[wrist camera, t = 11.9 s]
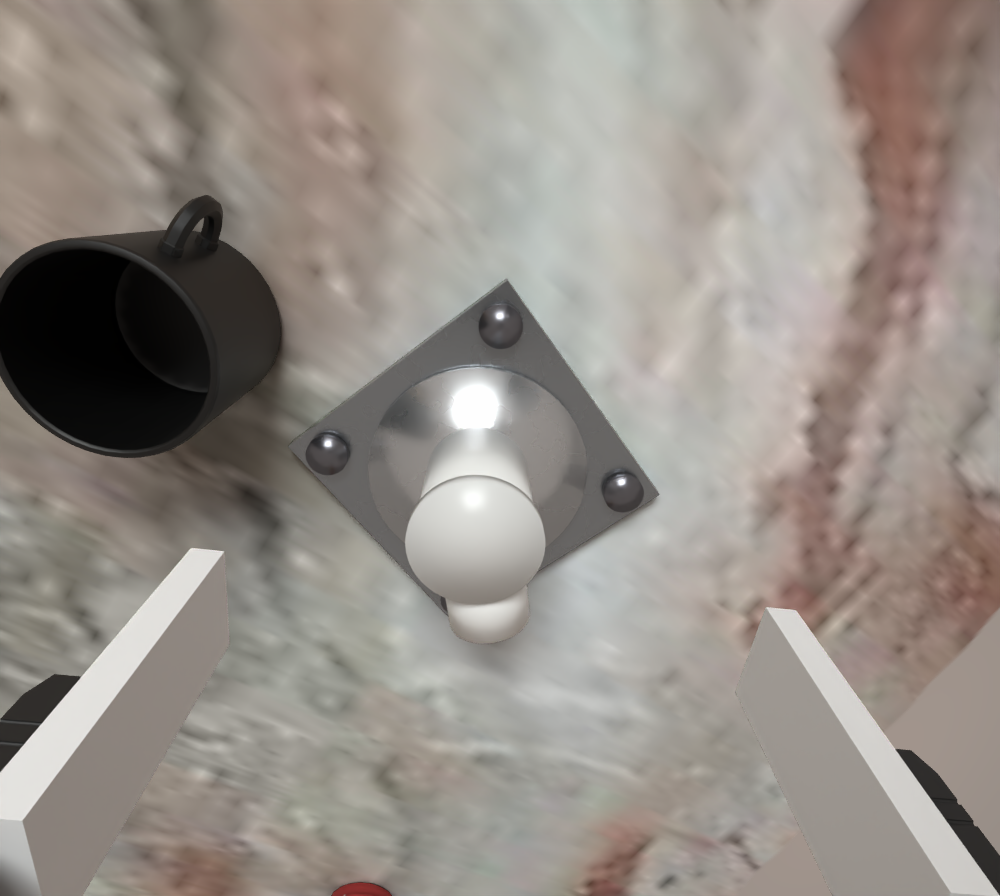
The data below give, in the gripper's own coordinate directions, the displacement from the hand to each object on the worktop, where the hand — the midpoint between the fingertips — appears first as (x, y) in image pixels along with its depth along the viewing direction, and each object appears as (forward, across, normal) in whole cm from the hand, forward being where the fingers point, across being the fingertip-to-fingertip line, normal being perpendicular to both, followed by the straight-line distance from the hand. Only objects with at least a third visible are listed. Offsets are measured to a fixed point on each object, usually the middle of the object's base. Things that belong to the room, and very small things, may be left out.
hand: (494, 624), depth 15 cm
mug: (+22, -16, +2) cm, 28 cm away
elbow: (+21, 0, -7) cm, 22 cm away
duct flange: (+22, 0, -6) cm, 23 cm away
